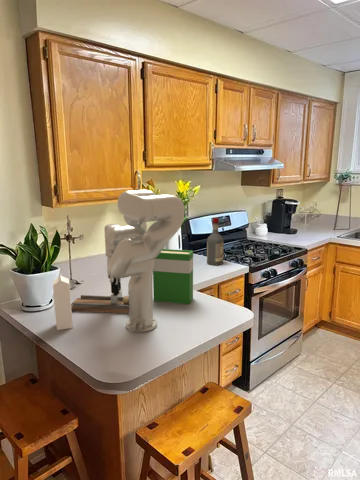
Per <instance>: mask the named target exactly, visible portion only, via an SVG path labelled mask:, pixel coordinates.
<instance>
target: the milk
mask: <svg viewBox="0 0 360 480" xmlns="http://www.w3.org/2000/svg"><path fill="white" fill-rule="evenodd" d="M70 286H71V285H70V279H69V278H68V277H65V276H63V275H62V273H60V276H58V277H57V278H56V279H54V280H53V284H52V289H53V290H52V291H53V301H54V314H55V324H56V325H55V326H56V330H57V331H61V330H67V329H69V330H70V329H73V314H72V313H73V312H72V310H71V304H72V300H71V289H70V288H71V287H70Z"/></svg>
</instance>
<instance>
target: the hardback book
mask: <svg viewBox="0 0 360 480" xmlns="http://www.w3.org/2000/svg"><path fill="white" fill-rule="evenodd" d="M152 291H153V302H162V303H163V302H165V303H172V304H183V305H191V303H192V301H193V299H194V250H189V249H188V250H187V249H172V248H171V249H170V248H168V249H167V248H164V249H163V250H162V251H161V252H160V254H159V255H158V256H157V257H156V258H155V259H154V268H153V275H152Z"/></svg>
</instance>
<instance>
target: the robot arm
mask: <svg viewBox="0 0 360 480" xmlns="http://www.w3.org/2000/svg"><path fill="white" fill-rule="evenodd" d="M117 198H118V199H117V208H118V211H119V212H120V214H122V215H123V221H125V223H126V225H121V224H119V223H107V224H105V226H104V227H103V228H104V229H103V230H104V244H105V245H104V246H105V257H107V258H106V261H107V263H106V265H107V266H106V267H107V268H106V272H107V279H109V283H110V292H111V294H113V293H118V292H119V290H122V283H121V279H125V278H129V277H130V278H129V280H128V283H127V284H128V285H127V286H128V288H127V291H128V296H129V313H128V314H129V315H128V316H129V319H128V320H126V322H125V328H126V329H127V330H129V331H131V332H134V333H146V332H150V331H152V330H154V329H155V328H157V325H158V321H157V319H156V318H154V312H153V311H154V308H153V306H154V305H153V303H154V296H153V268H154V259H155V258H156V257H157V256H158V255H159V254H160V252H161V251H162V250H163V249H165V248H166V246H167V244H168V243H169V241H171V240H172V238H173V237H174V236H175V235H176V233H178V231H180V228H181V227H182V225H183V222H184V218H185V205H184V202H183V200H182V199H181V198H180V197H178V196H177V195H173V194H156V193H155V192H154V191H152V190H149V189H135V190H125V191H123V192H122V193H120V194H119V196H118V197H117ZM149 222H153V223H152V224H151V225H150V226H149V227H147V225H148V224H147V223H149ZM114 277H115V278H114ZM113 279H114V280H113ZM117 279H119V290H118V284H117Z"/></svg>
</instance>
